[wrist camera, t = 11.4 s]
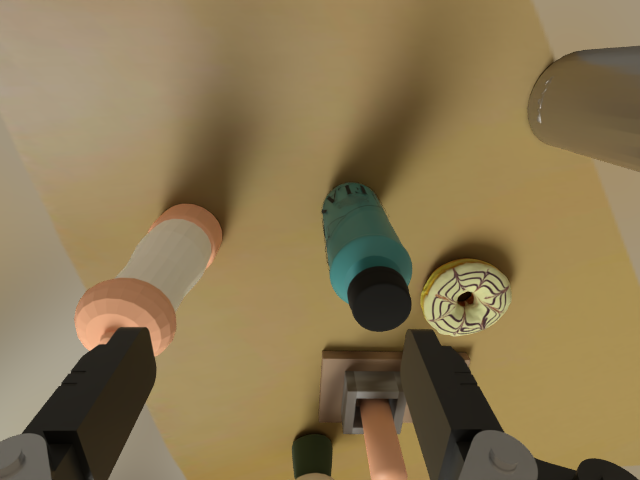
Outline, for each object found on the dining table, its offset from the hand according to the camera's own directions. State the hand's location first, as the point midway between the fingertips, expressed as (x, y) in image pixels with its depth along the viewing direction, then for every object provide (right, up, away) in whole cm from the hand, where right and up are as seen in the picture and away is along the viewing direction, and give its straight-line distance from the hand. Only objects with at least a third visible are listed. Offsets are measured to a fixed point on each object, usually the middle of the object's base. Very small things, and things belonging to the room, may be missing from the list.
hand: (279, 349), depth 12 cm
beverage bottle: (+5, +8, +30) cm, 31 cm away
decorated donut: (+19, -3, +36) cm, 40 cm away
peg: (+9, -18, +40) cm, 45 cm away
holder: (+11, -17, +41) cm, 46 cm away
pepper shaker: (-14, +4, +31) cm, 34 cm away
